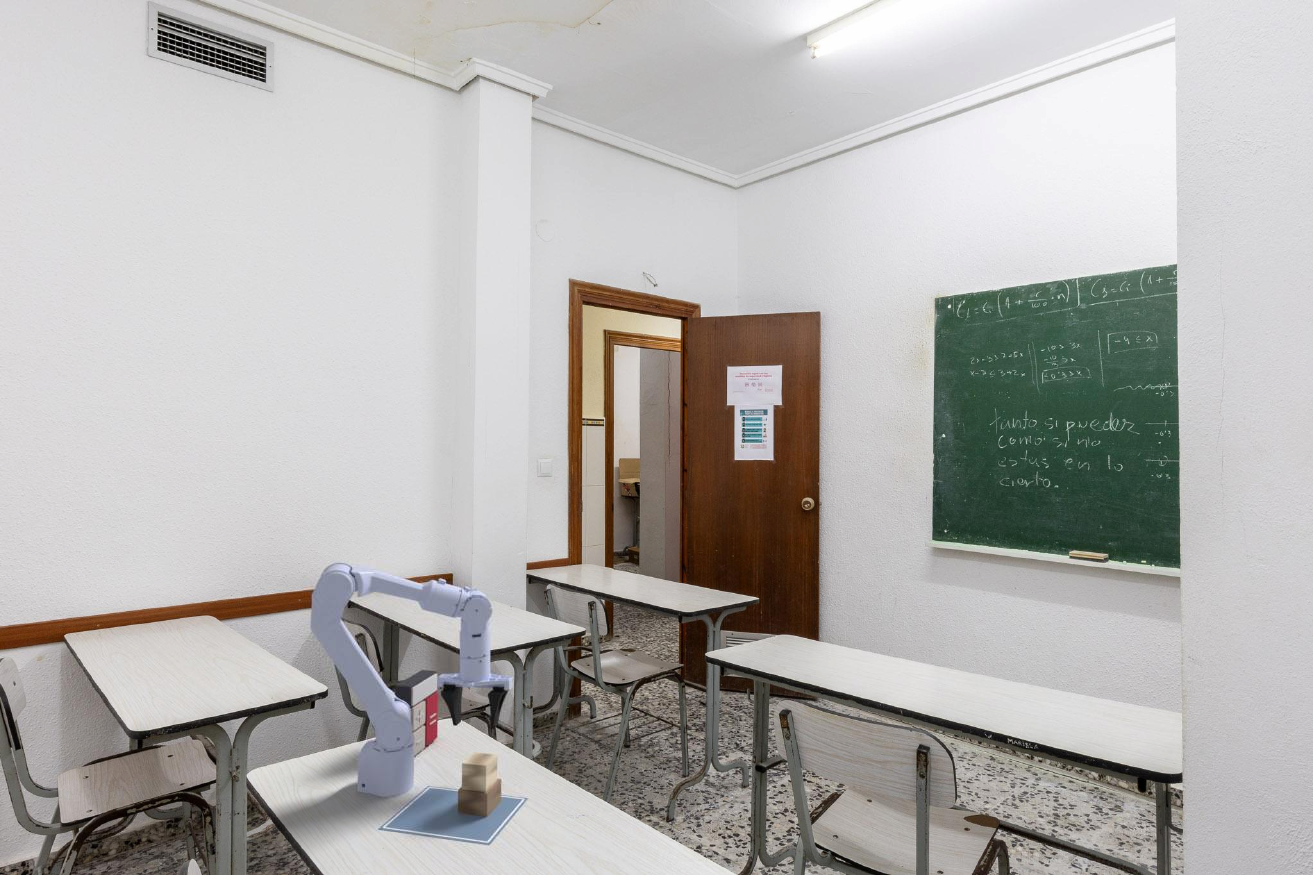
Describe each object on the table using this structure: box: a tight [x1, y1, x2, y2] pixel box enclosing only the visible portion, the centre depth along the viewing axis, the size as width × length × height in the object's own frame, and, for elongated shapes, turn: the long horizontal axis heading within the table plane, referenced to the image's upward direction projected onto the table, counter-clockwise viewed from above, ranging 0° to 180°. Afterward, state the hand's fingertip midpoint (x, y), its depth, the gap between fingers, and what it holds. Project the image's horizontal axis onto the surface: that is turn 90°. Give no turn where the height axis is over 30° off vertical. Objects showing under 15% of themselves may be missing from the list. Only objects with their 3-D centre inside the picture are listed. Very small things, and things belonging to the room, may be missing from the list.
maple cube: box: [461, 751, 498, 792], centre depth 125 cm, size 4×4×4 cm
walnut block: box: [457, 778, 502, 817], centre depth 125 cm, size 6×6×4 cm
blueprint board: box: [377, 785, 529, 846], centre depth 123 cm, size 20×16×1 cm
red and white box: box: [394, 669, 439, 757], centre depth 151 cm, size 11×4×15 cm, turn 168°
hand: (475, 724), depth 137 cm, fingers open, 7 cm apart
